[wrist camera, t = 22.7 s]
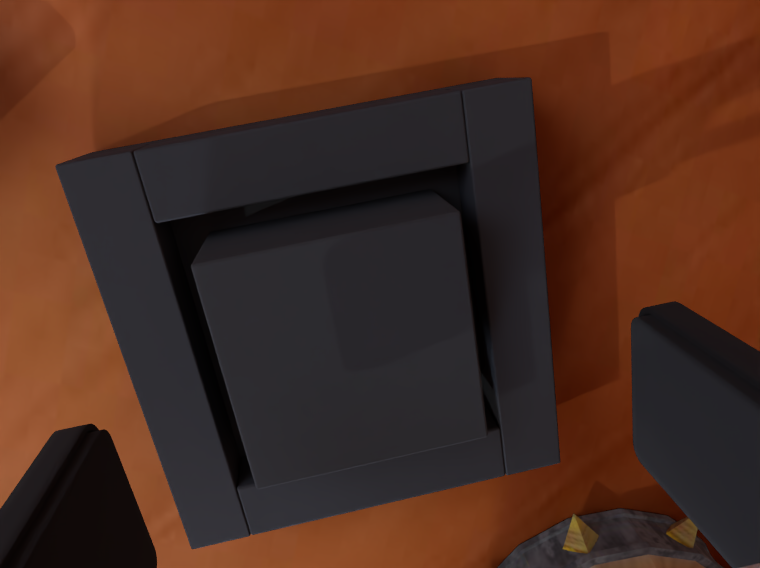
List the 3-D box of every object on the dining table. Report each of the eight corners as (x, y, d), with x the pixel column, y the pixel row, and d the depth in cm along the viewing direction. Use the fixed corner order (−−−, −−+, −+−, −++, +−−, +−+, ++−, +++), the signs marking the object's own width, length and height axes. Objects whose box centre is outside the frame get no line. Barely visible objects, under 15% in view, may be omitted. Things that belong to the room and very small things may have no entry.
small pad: (431, 187, 16) (461, 210, 13) (458, 381, 18) (488, 438, 15) (208, 231, 15) (189, 264, 13) (262, 425, 17) (256, 491, 15)
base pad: (498, 77, 16) (532, 76, 14) (529, 418, 20) (561, 463, 18) (90, 152, 15) (53, 165, 13) (204, 492, 19) (191, 550, 17)
